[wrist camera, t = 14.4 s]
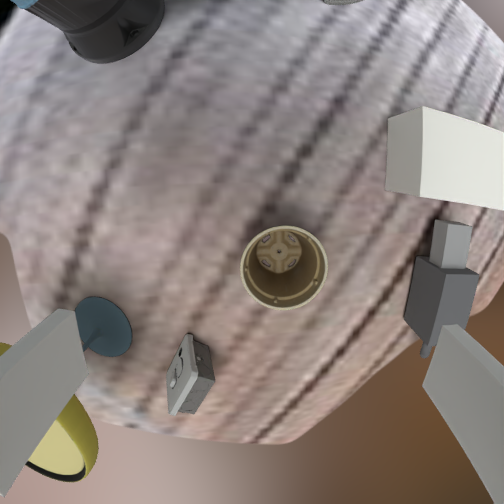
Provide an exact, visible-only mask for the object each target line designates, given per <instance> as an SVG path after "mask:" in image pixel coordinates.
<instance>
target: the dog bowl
mask: <svg viewBox="0 0 504 504" xmlns="http://www.w3.org/2000/svg"><path fill="white" fill-rule="evenodd" d="M324 1H325V3H326V4H329V5H346V4H353V3H357V2H360V1H363V0H324Z"/></svg>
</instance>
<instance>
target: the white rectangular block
mask: <svg viewBox="0 0 504 504" xmlns="http://www.w3.org/2000/svg"><path fill="white" fill-rule="evenodd" d="M385 190H387V191H392V192H398V193H403V194H408V195H413V196H418V197H425V198H432V199H439V200H446V201H452V202H459V203H465V204H471V205H477V206H482V207H488V208H493V209H499V210H504V132H501V131H499V130H496V129H493V128H491V127H488V126H485V125H482V124H479V123H477V122H474V121H471V120H468V119H465V118H461V117H458V116H455V115H452V114H448V113H445V112H442V111H438V110H434V109H431V108H427V107H423V106H422V107H419V108H416V109H413V110H411V111H408V112H405V113H402V114H399V115H396V116H394V117H391V118H388V137H387V163H386V180H385Z"/></svg>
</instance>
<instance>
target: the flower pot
mask: <svg viewBox="0 0 504 504" xmlns="http://www.w3.org/2000/svg"><path fill="white" fill-rule="evenodd" d="M268 235H269V236H270V238H269V239H268V240H267V241H266V242H265V243H264V242H263V241H262V240H263V239H264V238H265V237H266V236H268ZM289 235H290V236H291V237H292V238H293V239H294V240H295V242H293V241H292V240H290V238H289ZM278 250H280V251H281V253H278ZM263 260H265V261H266V262H267V263H268V264H269V265H270V267H269V266H266V265H265V264H264V263H263V262H262V261H263ZM293 260H296V262H295V264H293V266H291V267H289V266H288V265H290V264H291V263H292V262H293ZM327 274H328V259H327V255H326V252H325V250H324V248H323V246H322V245H321V243H320V242H319V241H318V239H317V238H316V237H315V236H313V235H312V234H311V233H309V232H308V231H306V230H304V229H302V228H299V227H295V226H288V225H284V226H276V227H272V228H269V229H267V230H264V231H262V232H261V233H259V234H258V235H257V236H255V237H254V238H253V239H252V240H251V241H250V242H249V244H248V245H247V247H246V248H245V250H244V252H243V255H242V258H241V263H240V275H241V280H242V283H243V286H244V287H245V289H246V291H247V292H248V294H249V295H250V296H251V297H252V298H253V299H254V300H255V301H257V302H258V303H260V304H261V305H263V306H265V307H268V308H271V309H276V310H291V309H296V308H299V307H301V306H303V305H305V304H307V303H308V302H310V301H311V300H312V299H314V297H315V296H316V295H317V294H318V293H319V292H320V290H321V289H322V287H323V285H324V283H325V280H326V278H327Z"/></svg>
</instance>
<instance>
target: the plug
mask: <svg viewBox="0 0 504 504" xmlns="http://www.w3.org/2000/svg"><path fill="white" fill-rule="evenodd" d="M471 233H472V226H469V225H466V224H463V223H460V222H453V221H444V220H435V224H434V232H433V239H432V246H431V252H430V257H424V256H416V262H415V267H414V273H413V278H412V284H411V289H410V294H409V298H408V303H407V308H406V312H405V316H404V320H405V321H406V322H407V324H408V325H409V326H410V327H411V328H412V329H413V330H414V331H415V332H416V334H417V335H418V336H419V337H420V338H421V339H422V340H423V344H422V348H421V351H420V355H421V357H422V358H427V357H428V356H429V354H430V351H431V348H432V346H436V345H437V342H438V339H439V336H440V332H441V329H442V326H443V325H456V324H458V325H459V326H460V327H461V328H462V329H463V330H465V328H466V325H467V321H468V318H469V314H470V311H471V307H472V303H473V300H474V296H475V292H476V288H477V283H478V279H479V274H477V273H475V272H474V271H472V270H470V269H468V268H466V262H467V257H468V251H469V246H470V239H471Z"/></svg>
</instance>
